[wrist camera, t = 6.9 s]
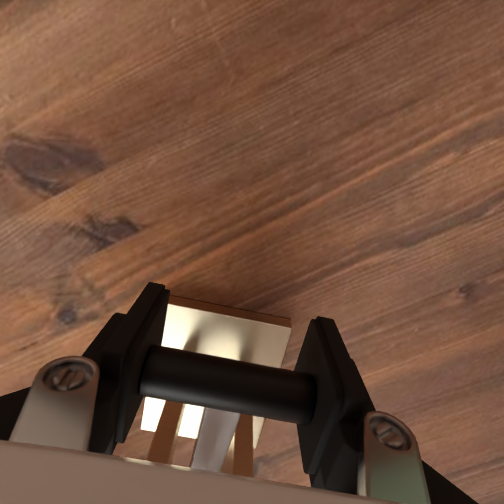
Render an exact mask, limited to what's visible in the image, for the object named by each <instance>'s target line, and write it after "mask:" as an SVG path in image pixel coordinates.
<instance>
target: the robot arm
mask: <svg viewBox="0 0 504 504" xmlns="http://www.w3.org/2000/svg"><path fill="white" fill-rule="evenodd" d="M169 295H170V290H167V289H165V285H162V284H158V283H153V282H149V283H148V284H147V286H146V287H145V288H144V290H143V291H142V293H141V294H140V296H139V297H138V299H137V300H136V301H135V303H134V304H133V306H132V307H131V309H130V310H129V311H128V313H127V314H121V313H115V314H114V315H113V316H112V317H111V318H110V320H109V321H108V322H107V324H106V325H105V326H104V328H103V329H102V330H101V331H100V333H99V334H98V335H97V337H96V338H95V339H94V341H93V342H92V343H91V344H90V346H89V347H88V348H87V350H86V351H85V352H84V354H83V355H82V356H67V357H62V358H58V359H55V360H53V361H51V362H49V363H47V364H46V365H44V366H43V367H42V368H41V369H40V370H39V371H38V373H37V374H36V376H35V379H34V381H33V384H32V386H31V387H28V388H25V389H22V390H19V391H16V392H13V393H10V394H7V395H4V396H1V397H0V504H478V503H477V502H476V501H474V500H473V499H472V498H470V497H469V496H468V495H466V494H465V493H464V492H463V491H461V490H460V489H459V488H457V487H456V486H455V485H454V484H452V483H451V482H450V481H448V480H447V479H446V478H444V477H443V476H442V475H441V474H439V473H438V472H437V471H435V470H434V469H433V468H432V467H430V466H429V465H428V464H426V463H425V462H424V461H422V460H421V456H420V452H419V448H418V443H417V441H416V438H415V436H414V434H413V433H412V432H411V430H410V429H409V428H408V427H407V426H406V425H405V424H404V423H403V422H402V421H400V420H399V419H397V418H396V417H394V416H392V415H390V414H388V413H385V412H381V411H376V410H375V408H374V405H373V403H372V401H371V399H370V396H369V394H368V392H367V390H366V387H365V385H364V383H363V380H362V378H361V376H360V374H359V371H358V369H357V367H356V365H355V362H354V361H353V359H351V358H350V356H349V354H348V352H347V349H346V347H345V345H344V342H343V340H342V338H341V335H340V333H339V331H338V328H337V326H336V324H335V321H334V320H333V319H330V318H325V317H320V316H318V317H317V318H316V320H315V319H311V321H310V324H309V327H308V330H307V333H306V336H305V339H304V342H303V345H302V348H301V351H300V354H299V357H298V360H297V363H296V366H295V369H294V371H297V372H302V373H308V374H311V375H312V376H313V377H314V379H315V382H316V391H317V396H316V406H315V411H314V415H313V418H312V420H311V422H310V423H309V424H308V425H302V424H297V430H298V436H299V443H300V450H301V456H302V463H303V469H304V472H305V473H306V474H309V476H310V482H311V487H306V486H300V485H294V484H288V483H282V482H276V481H270V480H264V479H258V478H252V477H245V476H239V475H233V474H227V473H221V472H215V471H208V470H202V469H196V468H190V467H184V466H177V465H171V464H165V463H158V462H152V461H146V460H139V459H133V458H126V457H120V456H114V455H112V454H113V451H114V449H115V447H116V444H117V442H118V443H124V442H125V440H126V437H127V435H128V432H129V430H130V428H131V425H132V423H133V420H134V418H135V416H136V413H137V411H138V408H139V406H140V404H141V401H142V399H143V396H140V395H139V394H138V384H139V378H140V374H141V370H142V366H143V363H144V360H145V357H146V355H147V352H148V350H149V348H150V347H151V346H152V345H160V346H162V339H163V333H164V327H165V321H166V314H167V308H168V302H169ZM107 454H108V455H107Z"/></svg>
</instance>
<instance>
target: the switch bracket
mask: <svg viewBox="0 0 504 504" xmlns="http://www.w3.org/2000/svg"><path fill="white" fill-rule="evenodd" d="M291 331H292V325H291V321H290V319H285V318H280V317H275V316H270V315H265V314H260V313H255V312H250V311H245V310H240V309H235V308H230V307H225V306H220V305H215V304H210V303H205V302H200V301H195V300H190V299H185V298H180V297H175V296H170V295H169V302H168V308H167V314H166V321H165V327H164V333H163V339H162V346H165V347H170V348H176V349H181V350H186V351H192V352H197V353H202V354H207V355H213V356H218V357H223V358H229V359H234V360H239V361H244V362H250V363H255V364H260V365H266V366H271V367H276V368H280V367H281V364H282V361H283V357H284V354H285V351H286V347H287V344H288V341H289V337H290V334H291ZM203 408H204V407H200V406H194V405H189V404H183V403H178V402H172V401H166V400H161V399H155V398H149V397H145V403H144V409H143V416H142V422H141V429H142V430H148V431H154V432H155V434H154V437H153V440H152V443H151V446H150V449H149V452H148V455H147V458H146V461H152V462H158V463H165V464H171V462H172V458H173V454H174V450H175V446H176V442H177V438H178V436H183V437H189V438H195V439H196V437H197V433H198V429H199V425H200V420H201V416H202V412H203ZM264 420H265V418H262V417H256V416H251V415H245V414H241V416H240V419H239V422H238V424H237V427H236V430H235V433H234V436H233V438H232V441H231V444H230V447H229V449H228V452H227V455H226V458H225V460H224V463H223V466H222V469H221V473H227V474H233V475H239V476H245V477H252V478H253V448H254V449H256V446H257V443H258V440H259V437H260V433H261V430H262V427H263V423H264Z"/></svg>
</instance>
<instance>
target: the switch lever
mask: <svg viewBox="0 0 504 504" xmlns="http://www.w3.org/2000/svg"><path fill="white" fill-rule="evenodd" d="M138 394H139V395H140V396H144V397H149V398H155V399H161V400H166V401H172V402H178V403H183V404H189V405H194V406H200V407H204V408H203V412H202V416H201V420H200V425H199V429H198V433H197V437H196V441H195V445H194V449H193V453H192V457H191V462H190V466H189V467H190V468H196V469H202V470H208V471H215V472H220V471H221V469H222V466H223V463H224V460H225V458H226V455H227V452H228V449H229V447H230V444H231V441H232V438H233V436H234V433H235V430H236V427H237V424H238V422H239V419H240V416H241V414H245V415H251V416H256V417H262V418H268V419H273V420H279V421H285V422H290V423H296V424H302V425H308V424H309V423H310V422H311V420H312V418H313V415H314V411H315V406H316V396H317V391H316V382H315V379H314V377H313V376H312V375H311V374H308V373H302V372H297V371H292V370H287V369H281V368H276V367H271V366H266V365H260V364H255V363H250V362H244V361H239V360H234V359H229V358H223V357H218V356H213V355H207V354H202V353H197V352H192V351H186V350H181V349H176V348H170V347H165V346H160V345H152V346H151V347H150V348H149V350H148V352H147V355H146V357H145V360H144V363H143V366H142V370H141V374H140V378H139V384H138Z"/></svg>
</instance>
